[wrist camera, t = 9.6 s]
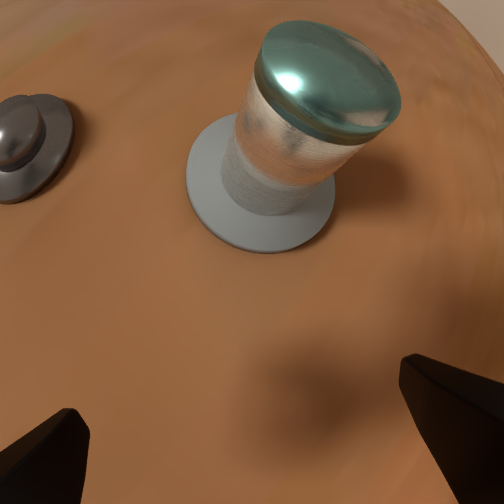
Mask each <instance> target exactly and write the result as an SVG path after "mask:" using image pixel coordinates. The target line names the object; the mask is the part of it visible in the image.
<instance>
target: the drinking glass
mask: <svg viewBox="0 0 504 504" xmlns="http://www.w3.org/2000/svg"><path fill="white" fill-rule="evenodd" d="M400 109H401V96H400V92H399V89H398V86H397V83H396V81H395V79H394V77H393V76H392V74H391V73H390V71H389V70H388V68H387V67H386V66H385V64H384V63H383V62H382V61H381V60H380V59H379V58H378V57H377V56H376V55H375V54H374V53H373V52H372V51H371V50H370V49H369V48H368V47H366V46H365V45H364V44H362V43H361V42H360V41H358V40H357V39H355V38H354V37H352V36H350V35H348V34H346V33H345V32H342V31H340V30H338V29H336V28H333V27H331V26H328V25H324V24H321V23H317V22H311V21H300V20H298V21H288V22H284V23H280V24H278V25H276V26H274V27H273V28H272V29H270V30H269V32H268V33H267V34H266V36H265V38H264V41H263V43H262V46H261V48H260V51H259V54H258V56H257V59H256V61H255V66H254V71H253V73H252V76H251V78H250V81H249V84H248V87H247V89H246V92H245V95H244V97H243V100H242V103H241V106H240V109H239V111H238V114H237V117H236V120H235V123H234V126H233V128H232V131H231V134H230V137H229V140H228V143H227V146H226V149H225V152H224V155H223V158H222V161H221V166H220V174H221V180H222V183H223V186H224V188H225V190H226V192H227V193H228V195H229V196H230V197H231V199H232V200H233V201H234V202H235V203H237V204H238V205H239V206H240V207H242V208H243V209H245V210H247V211H249V212H251V213H254V214H257V215H261V216H278V215H282V214H285V213H288V212H290V211H291V210H293V209H294V208H295V207H297V206H298V205H299V204H300V203H301V202H302V201H303V200H304V199H305V198H307V197H308V196H309V195H310V194H311V193H312V192H313V191H314V190H315V189H316V188H318V187H319V186H320V185H321V184H322V183H323V182H324V181H325V180H326V179H328V178H329V177H330V176H331V175H332V174H333V173H334V172H335V171H336V170H338V169H339V168H340V167H341V166H342V165H343V164H344V163H345V162H346V161H348V160H349V159H350V158H351V157H352V156H353V155H354V154H355V153H356V152H358V151H359V150H360V149H361V148H362V147H363V146H364V145H365V144H366V143H368V142H369V141H371V140H373V139H374V138H375V137H376V136H377V135H379V134H380V133H381V132H382V131H383V130H384V129H385V128H386V127H388V126H389V125H390V124H391V123H392V122H393V121H394V120H395V119H396V118H397V116H398V115H399V112H400Z"/></svg>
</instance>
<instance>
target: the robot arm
mask: <svg viewBox="0 0 504 504" xmlns="http://www.w3.org/2000/svg"><path fill="white" fill-rule="evenodd" d="M399 387H400V390H401V392H402V394H403V397H404V399H405V401H406V403H407V406H408V408H409V410H410V412H411V415H412V417H413V419H414V422H415V424H416V426H417V428H418V431H419V432H420V434H421V436H422V438H423V440H424V441H425V443H426V445H427V447H428V448H429V450H430V452H431V454H432V455H433V457H434V459H435V461H436V462H437V464H438V466H439V468H440V470H441V471H442V473H443V475H444V477H445V479H446V481H447V482H448V484H449V486H450V488H451V490H452V492H453V494H454V495H455V497H456V499H457V501H458V503H459V504H504V384H503V383H500V382H497V381H494V380H491V379H488V378H485V377H482V376H479V375H476V374H473V373H470V372H467V371H465V370H462V369H459V368H456V367H453V366H450V365H447V364H445V363H442V362H439V361H436V360H434V359H431V358H428V357H425V356H422V355H420V354H417V353H415V354H411V355H409V356H406V357H404V358H402V360H401V365H400V374H399ZM89 440H90V430H89V428H88V426H87V425H86V423H85V422H84V420H83V419H82V417H81V415H80V414H79V412H78V411H77V410H76V409H73V408H63V409H61V410H60V411H58V412H57V413H56V414H54V415H53V416H51V417H50V418H49V419H47V420H46V421H44V422H43V423H41V424H40V425H39V426H37V427H36V428H34V429H33V430H31V431H30V432H29V433H27V434H26V435H24V436H23V437H21V438H20V439H18V440H17V441H16V442H14V443H13V444H11V445H10V446H8V447H7V448H5V449H4V450H2V451H1V452H0V504H81V498H82V492H83V487H84V482H85V476H86V467H87V457H88V448H89Z"/></svg>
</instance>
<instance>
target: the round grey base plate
mask: <svg viewBox="0 0 504 504" xmlns="http://www.w3.org/2000/svg"><path fill="white" fill-rule="evenodd" d="M74 131H75V129H74V122H73V118H72V116H71V113H70V111H69V109H68V107H67V105H66V104H65V103H64V102H63V101H62V100H61V99H60V98H58V97H56V96H53V95H49V94H36V95H31V96H27V95H16V96H13V97H10V98H8V99H6V100H4V101H3V102H1V103H0V204H15V203H18V202H22V201H24V200H26V199H29V198H30V197H32V196H34V195H35V194H37V193H38V192H40V191H41V190H42V189H43V188H44V187H46V186H47V185H48V184H49V183H50V182H51V181H52V180H53V179H54V177H55V176H56V175H57V174H58V172H59V171H60V169H61V168H62V166H63V165H64V163H65V161H66V160H67V158H68V155H69V153H70V151H71V148H72V145H73V140H74Z"/></svg>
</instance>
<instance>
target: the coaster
mask: <svg viewBox="0 0 504 504" xmlns="http://www.w3.org/2000/svg"><path fill="white" fill-rule="evenodd" d="M237 114H238V113H235V114H231V115H228V116H225V117H223V118H220V119H218V120H217V121H215V122H213V123H212V124H211V125H209V126H208V127H207V128H206V129H205V130H204V131H203V132H202V133H201V134H200V135H199V136H198V138H197V139H196V141H195V142H194V144H193V146H192V148H191V151H190V154H189V157H188V162H187V170H186V188H187V194H188V197H189V200H190V203H191V206H192V208H193V210H194V212H195V214H196V215H197V217H198V218H199V220H200V221H201V222H202V223H203V225H204V226H205V227H206V228H207V229H208V230H209V231H210V232H211V233H212V234H213V235H215V236H216V237H217V238H219V239H220V240H222V241H223V242H225V243H227V244H229V245H231V246H233V247H235V248H238V249H240V250H243V251H247V252H252V253H260V254H273V253H279V252H284V251H287V250H290V249H293V248H295V247H297V246H299V245H301V244H302V243H304V242H306V241H308V240H309V239H310V238H312V237H313V236H315V235H316V234H317V233H318V232H319V231H320V230H321V229H322V227H323V226H324V225H325V223H326V222H327V220H328V218H329V216H330V214H331V212H332V209H333V206H334V201H335V190H336V189H335V179H334V174H332V175H331V176H330V177H329V178H328V179H326V180H325V181H324V182H323V183H322V184H321V185H320V186H319V187H318V188H316V189H315V190H314V191H313V192H312V193H311V194H310V195H309V196H308V197H307V198H305V199H304V200H303V201H302V202H301V203H300V204H299V205H298V206H297V207H295V208H294V209H293V210H291V211H290V212H288V213H285V214H282V215H278V216H261V215H257V214H254V213H251V212H249V211H247V210H245V209H243V208H242V207H240V206H239V205H238V204H237V203H235V202H234V201H233V200H232V199H231V197H230V196H229V195H228V193H227V192H226V190H225V188H224V186H223V183H222V180H221V174H220V166H221V161H222V158H223V155H224V152H225V149H226V146H227V143H228V140H229V137H230V134H231V131H232V128H233V126H234V123H235V120H236V117H237Z"/></svg>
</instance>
